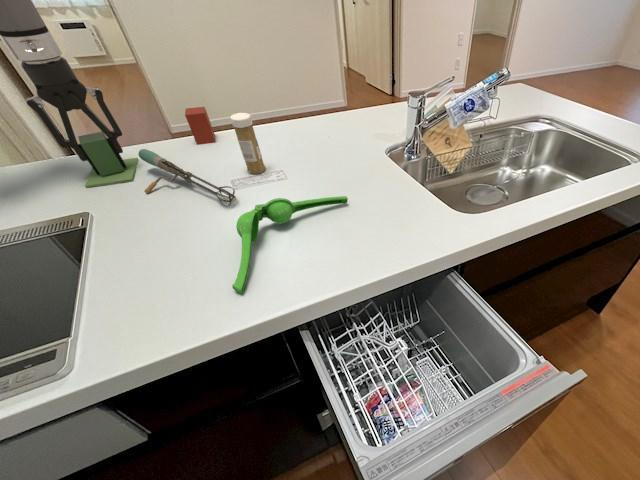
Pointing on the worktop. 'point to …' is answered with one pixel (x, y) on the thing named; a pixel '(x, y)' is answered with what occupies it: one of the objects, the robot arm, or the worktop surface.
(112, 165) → the green block
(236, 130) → the sprinkles bottle
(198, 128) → the red block
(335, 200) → the lime squeezer
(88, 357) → the worktop surface
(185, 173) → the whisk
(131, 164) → the sage mat
